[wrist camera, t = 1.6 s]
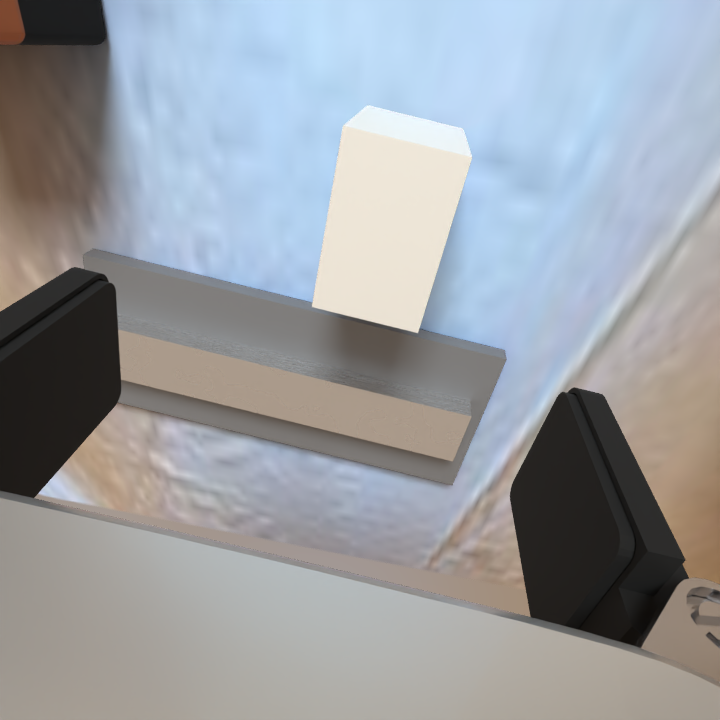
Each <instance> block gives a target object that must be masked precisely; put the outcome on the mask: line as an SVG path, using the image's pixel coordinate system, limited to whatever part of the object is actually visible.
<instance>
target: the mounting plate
mask: <svg viewBox="0 0 720 720" xmlns="http://www.w3.org/2000/svg"><path fill="white" fill-rule="evenodd" d="M83 261H84V269H85V270H89V271H93V272H98V273H102V274H104V275H105V276H107V278H108V281H109V283H112V284H113V285H114V286H115V289H116V301H117V314H120V315H124V316H128V317H132V318H136V319H140V320H144V321H148V322H152V323H156V324H160V325H164V326H168V327H173V328H177V329H181V330H185V331H189V332H193V333H197V334H201V335H205V336H209V337H213V338H217V339H221V340H225V341H229V342H233V343H237V344H241V345H245V346H249V347H254V348H258V349H262V350H266V351H270V352H274V353H278V354H282V355H286V356H290V357H294V358H298V359H302V360H306V361H310V362H314V363H318V364H322V365H326V366H331V367H335V368H339V369H343V370H347V371H351V372H355V373H359V374H363V375H367V376H371V377H375V378H379V379H383V380H387V381H391V382H395V383H399V384H403V385H408V386H412V387H416V388H420V389H424V390H428V391H432V392H436V393H440V394H444V395H448V396H452V397H456V398H460V399H464V400H468V401H470V405H471V416H472V417H471V419H470V422H469V424H468V426H467V429H466V431H465V434H464V436H463V438H462V441H461V443H460V446H459V448H458V450H457V453H456V455H455V458H454V460H453V461H449V460H445V459H441V458H437V457H433V456H428V455H424V454H420V453H416V452H412V451H408V450H404V449H400V448H396V447H392V446H388V445H384V444H380V443H376V442H372V441H368V440H364V439H360V438H356V437H352V436H347V435H343V434H339V433H335V432H331V431H327V430H323V429H319V428H315V427H311V426H307V425H303V424H299V423H295V422H291V421H287V420H283V419H279V418H275V417H271V416H267V415H262V414H258V413H254V412H250V411H246V410H242V409H238V408H234V407H230V406H226V405H222V404H218V403H214V402H210V401H206V400H202V399H198V398H194V397H190V396H186V395H182V394H177V393H173V392H169V391H165V390H161V389H157V388H153V387H149V386H145V385H141V384H137V383H133V382H129V381H125V380H121V395H120V398H119V400H118V403H122V404H126V405H130V406H134V407H138V408H142V409H146V410H150V411H154V412H159V413H163V414H167V415H171V416H175V417H179V418H183V419H187V420H191V421H195V422H199V423H203V424H207V425H211V426H215V427H219V428H223V429H227V430H231V431H235V432H239V433H244V434H248V435H252V436H256V437H260V438H264V439H268V440H272V441H276V442H280V443H284V444H288V445H292V446H296V447H300V448H304V449H308V450H312V451H316V452H320V453H324V454H329V455H333V456H337V457H341V458H345V459H349V460H353V461H357V462H361V463H365V464H369V465H373V466H377V467H381V468H385V469H389V470H393V471H397V472H401V473H405V474H409V475H413V476H418V477H422V478H426V479H430V480H434V481H438V482H442V483H446V484H450V485H453V482H454V480H455V478H456V475H457V473H458V471H459V468H460V466H461V464H462V461H463V459H464V457H465V455H466V452H467V450H468V448H469V445H470V443H471V441H472V438H473V436H474V434H475V431H476V429H477V427H478V424H479V422H480V420H481V417H482V415H483V413H484V410H485V408H486V406H487V403H488V401H489V399H490V396H491V394H492V392H493V390H494V387H495V385H496V383H497V380H498V378H499V376H500V373H501V371H502V369H503V366H504V364H505V362H506V354H505V350H502V349H498V348H494V347H490V346H486V345H482V344H478V343H474V342H470V341H466V340H461V339H457V338H453V337H449V336H445V335H441V334H437V333H433V332H429V331H425V330H421V329H419V331H418V333H416V332H411V331H407V330H403V329H399V328H395V327H391V326H387V325H383V324H379V323H375V322H371V321H367V320H363V319H359V318H355V317H351V316H346V315H342V314H338V313H334V312H330V311H326V310H322V309H318V308H314V307H312V303H311V302H307V301H303V300H299V299H295V298H291V297H287V296H283V295H279V294H275V293H271V292H267V291H263V290H259V289H255V288H251V287H247V286H242V285H238V284H234V283H230V282H226V281H222V280H218V279H214V278H210V277H206V276H202V275H198V274H194V273H190V272H186V271H182V270H178V269H174V268H169V267H165V266H161V265H157V264H153V263H149V262H145V261H141V260H137V259H133V258H129V257H125V256H121V255H117V254H113V253H109V252H105V251H101V250H96V249H92V250H90V251H88V252H87V253H85V254H83Z"/></svg>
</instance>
